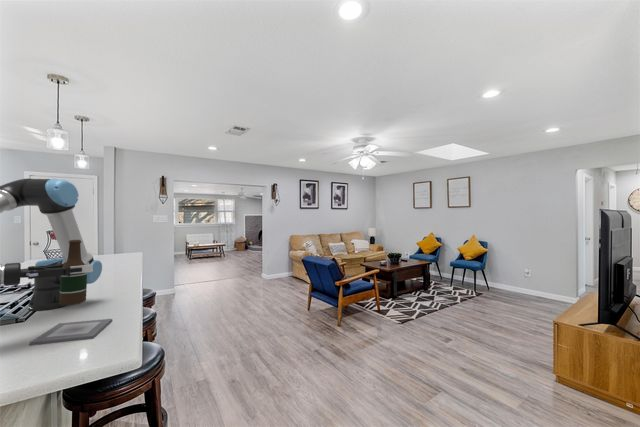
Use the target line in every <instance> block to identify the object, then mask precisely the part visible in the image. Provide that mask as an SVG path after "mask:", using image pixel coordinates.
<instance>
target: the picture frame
mask: <svg viewBox="0 0 640 427" xmlns="http://www.w3.org/2000/svg"><path fill="white" fill-rule="evenodd" d="M112 322H113V318H104V319H94V320H82V321H81V320H80V321H71V322H59V323H58V324H56V325H54V326H53V327H51V328H50V329H48V330H47V331H44V333H42V334H41V335H39V336H37V337H36V338H34V339H32V340H31V341H29V344H28V346H36V345H45V344H54V343H55V344H56V343H63V342H72V341H74V342H75V341H83V340H92V339H93V340H94V339H95V337H97V336H98V335H99V334H100V333H101V332H102V331H104V329H105V328H107V326H108V325H110V324H111V323H112Z"/></svg>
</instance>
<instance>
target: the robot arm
mask: <svg viewBox="0 0 640 427" xmlns="http://www.w3.org/2000/svg"><path fill="white" fill-rule="evenodd" d="M78 201H79V191H78V189H77V187H76V186H75V184H73V183H72V182H71V181H69V180H66V179H58V178H20V179H17V180H13V181H10V182H7V183H4V184H2V185H0V214H1V213H3V212H5V211H6V212H8V211H12V210H15V209H16V208H21V207H26V206H27V207H28V206H32V207H34V206H35V207H38V210H39V212H40V213H41V214H43V215H45V216H47V219H48V221H49V224H50V226H51V228H52V232H53V234H54V236H55V240H56V242H57V244H58V246H59V249H60V251H61V255H62V256H63V257H58V258H57V257H56V258H48V259H45V260H43V259H42V260H39V261H36V263H35V265H33V266H32V265H31V266H30V265H29V266H28V267H27V268H22V265H21V263H20V262H12V263H11V262H7V263H5V264H2V263H0V287H1V286H2V285H3V286H5V287H8V286H10V287H11V286H17V285H20V284H21V279H22V278H23V279H24V278H26V279H28V280H34V282H33V286H34V287H33V294H32V295H31V298H30V300H29V302H28V304H27V305H28V306H29V307H31V308H33V309H30V308H28V306H27V308H28V309H27V310H28V311H32V312H33V311H35V312H37V311H39V312H40V311H48V310H54V309H58V308H63V307H66V306H67V305H61V304H60V300H59V296H60V276H67V275H68V276H70V274H77V273H86V272H87V285H90V284H94V283H95V282H96V281H98V279H99V278H100V277H101V273H102V272H103V264H102V261H100V260H99V259H94V256H93V254H92V253H90V252H88V251H87V248H86V245H85V243H84V240H83V237H82V234H81V231H80V229H79V226H78V224H77V221H76V220H77V219H76V216H75V214H74V212H73V210H74V209H75V208H76V204H77V203H78ZM69 240H81V243H80V247H81V259H82V261H83V263H84V264H85V265H83V266H71V267H66V268H62V267H63V265H64V264H65V263H66V262H67V259H68V252H69V243H68V242H69ZM68 276H67V277H68Z"/></svg>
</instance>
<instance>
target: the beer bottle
mask: <svg viewBox="0 0 640 427" xmlns="http://www.w3.org/2000/svg"><path fill="white" fill-rule="evenodd" d="M68 243H69V252H68V259H67V262H66V263H65V264H64V265H63V267H62V268H66V267H71V266H83V265H85V264H84V263H83V261H82V259H81V247H80V243H81V240H69V242H68ZM67 276H68V275H67ZM67 276H60V296H59V300H60V304H61V305H66V306H74V305H79V304H82V303H84V302H86V300H87V290H88V289H87V285H88V284H87V272H86V273H77V274H70V276H68V277H67Z"/></svg>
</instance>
